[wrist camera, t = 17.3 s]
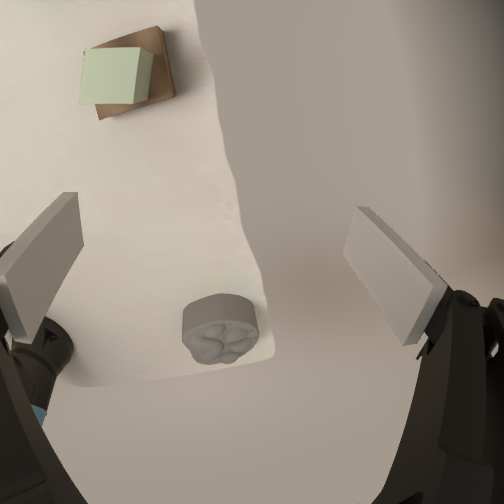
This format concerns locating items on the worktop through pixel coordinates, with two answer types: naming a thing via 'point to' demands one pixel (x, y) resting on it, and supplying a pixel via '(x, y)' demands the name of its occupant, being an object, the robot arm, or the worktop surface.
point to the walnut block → (160, 72)
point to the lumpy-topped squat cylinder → (219, 328)
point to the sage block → (116, 75)
